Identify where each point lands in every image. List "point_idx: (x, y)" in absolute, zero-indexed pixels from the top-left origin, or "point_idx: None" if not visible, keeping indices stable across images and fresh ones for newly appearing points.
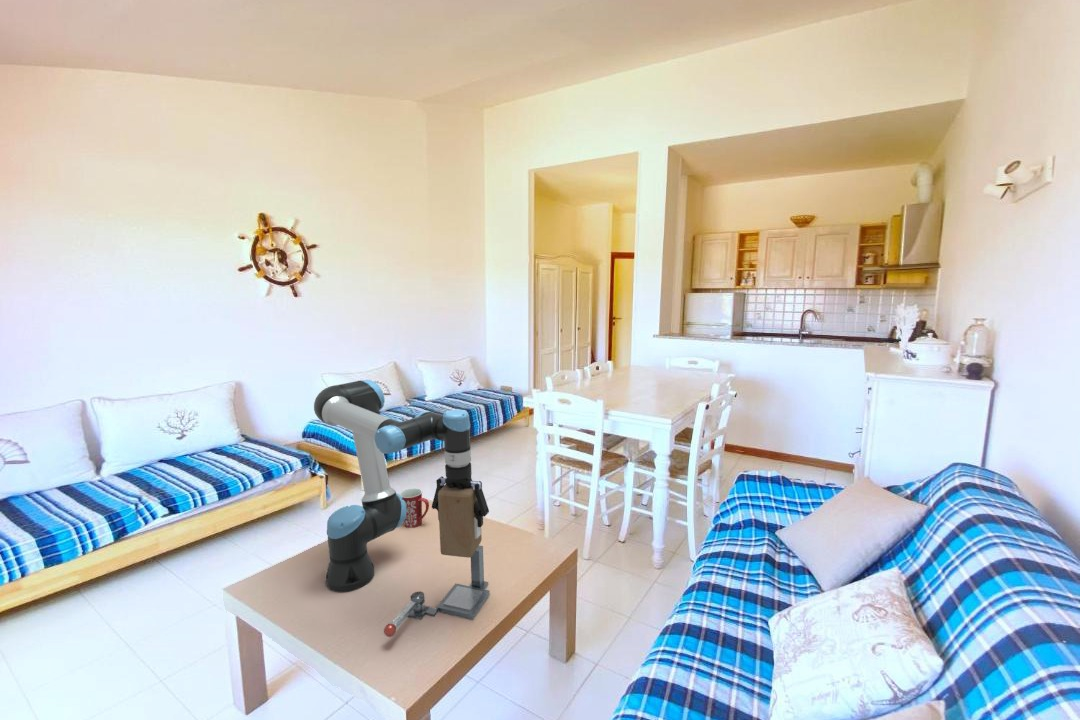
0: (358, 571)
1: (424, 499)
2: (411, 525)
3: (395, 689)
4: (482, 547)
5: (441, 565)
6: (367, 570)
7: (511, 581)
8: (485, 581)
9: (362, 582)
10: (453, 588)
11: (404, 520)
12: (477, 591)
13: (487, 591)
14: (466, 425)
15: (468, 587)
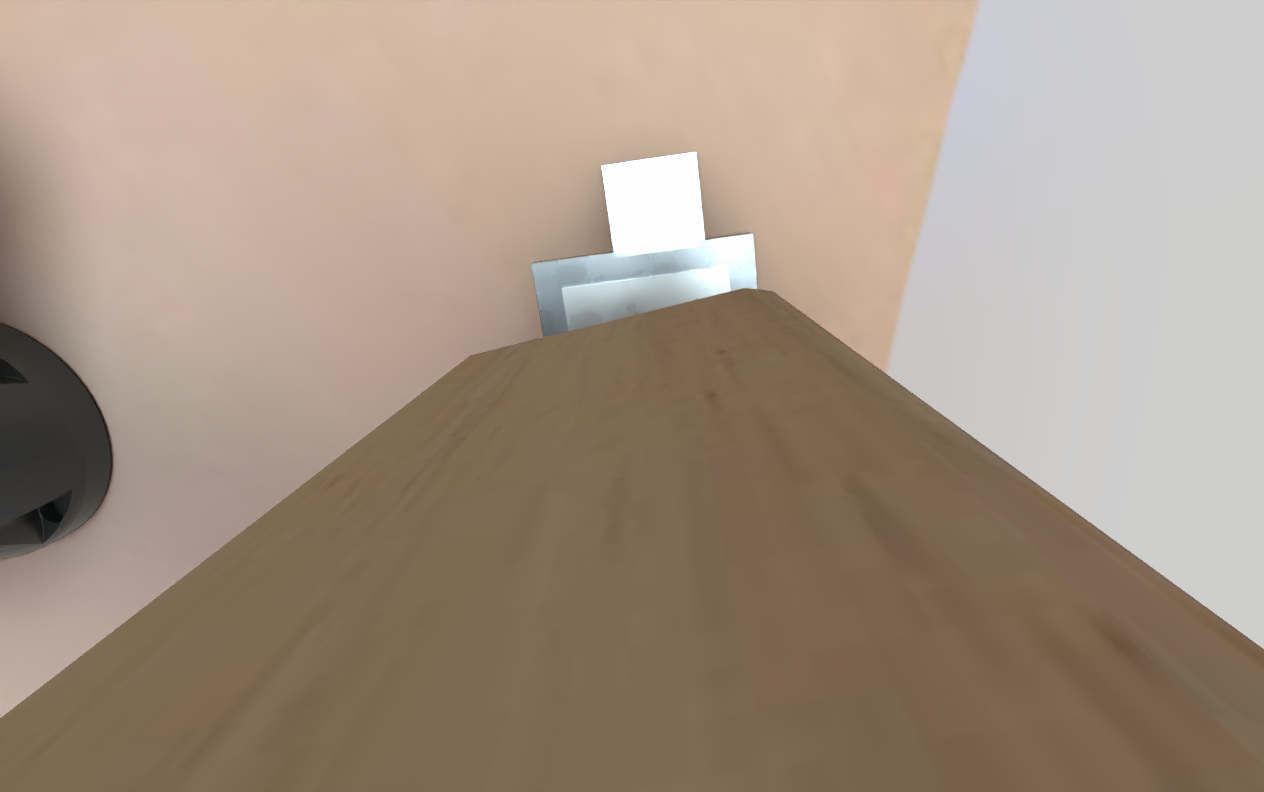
0: (17, 502)
1: None
2: None
3: None
4: (692, 168)
5: (312, 108)
6: (35, 442)
7: (814, 54)
8: (677, 155)
9: (91, 471)
10: (550, 308)
11: None
12: (698, 282)
13: (745, 247)
14: None
15: (623, 264)
